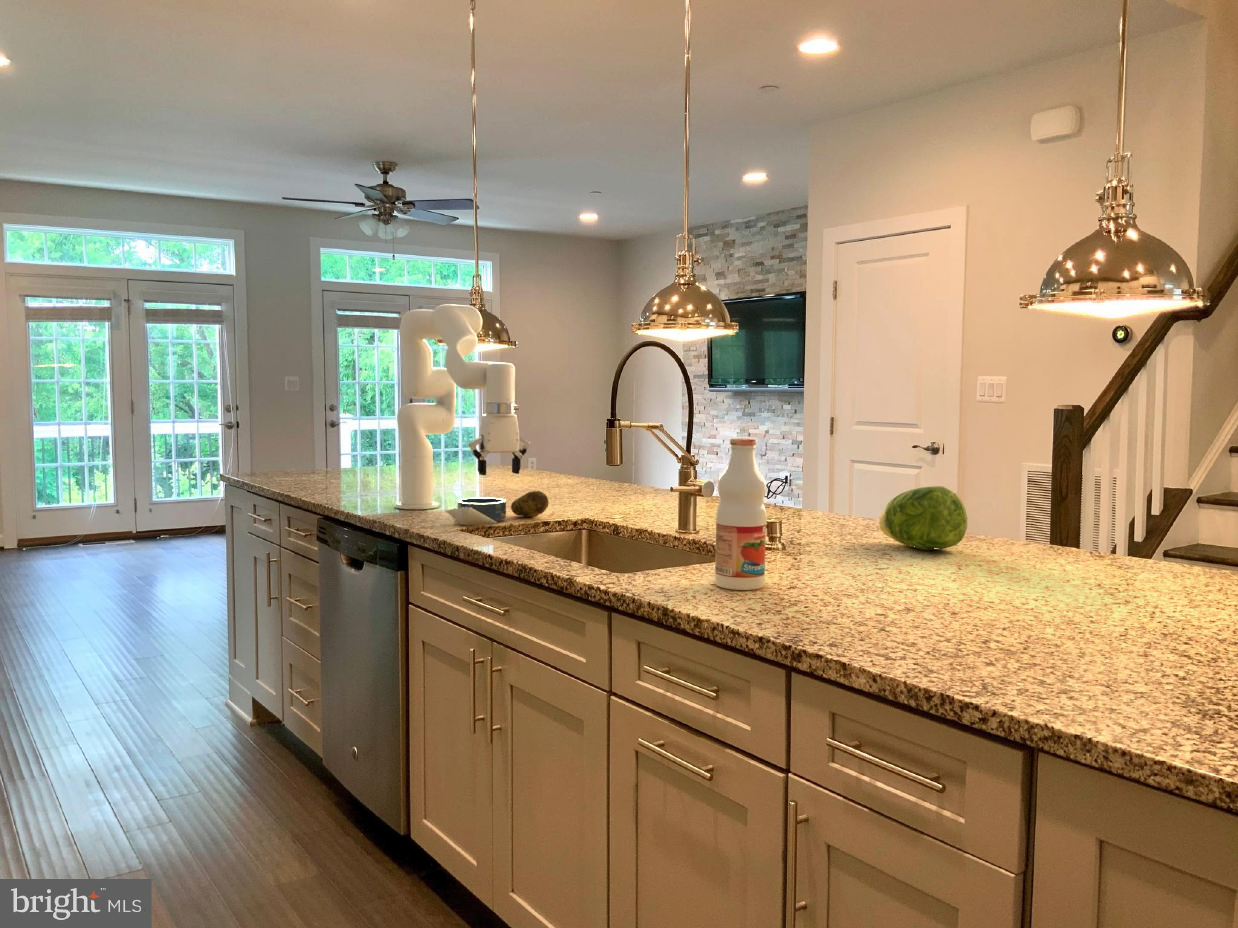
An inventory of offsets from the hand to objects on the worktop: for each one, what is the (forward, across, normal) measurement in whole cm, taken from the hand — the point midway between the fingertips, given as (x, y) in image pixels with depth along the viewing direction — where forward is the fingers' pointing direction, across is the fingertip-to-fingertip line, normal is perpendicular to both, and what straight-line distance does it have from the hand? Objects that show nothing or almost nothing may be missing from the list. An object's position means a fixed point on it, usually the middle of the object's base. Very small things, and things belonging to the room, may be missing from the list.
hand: (499, 474), depth 246 cm
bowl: (+14, 0, -11) cm, 18 cm away
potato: (+14, -14, -9) cm, 22 cm away
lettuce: (+12, -73, +79) cm, 108 cm away
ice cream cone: (+13, +1, +2) cm, 13 cm away
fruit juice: (+12, -8, +90) cm, 91 cm away
